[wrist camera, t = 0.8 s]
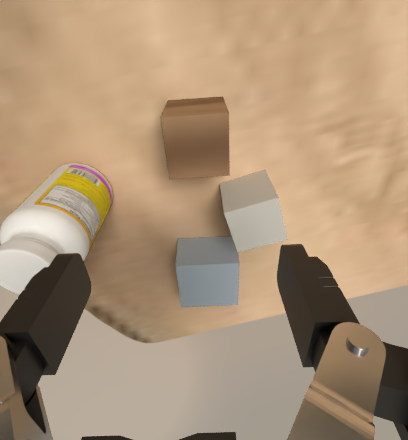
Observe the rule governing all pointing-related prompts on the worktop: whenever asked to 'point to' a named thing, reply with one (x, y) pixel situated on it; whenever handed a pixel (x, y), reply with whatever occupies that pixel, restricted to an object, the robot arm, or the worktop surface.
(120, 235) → the worktop surface
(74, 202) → the supplement bottle
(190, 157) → the walnut block
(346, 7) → the worktop surface
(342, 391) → the robot arm
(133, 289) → the worktop surface
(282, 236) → the grey block
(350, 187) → the worktop surface
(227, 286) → the base block
